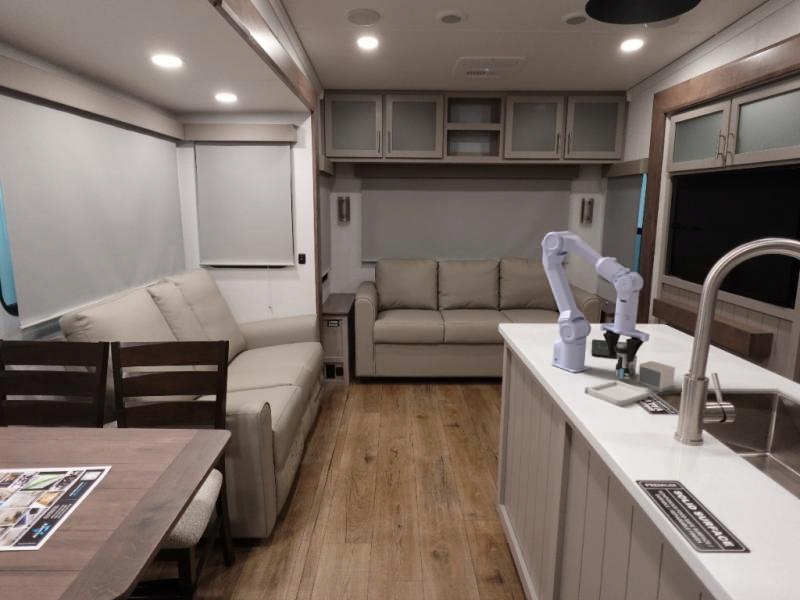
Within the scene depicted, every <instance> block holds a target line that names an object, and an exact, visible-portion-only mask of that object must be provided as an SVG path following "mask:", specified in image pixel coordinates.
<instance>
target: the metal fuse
mask: <svg viewBox="0 0 800 600" xmlns="http://www.w3.org/2000/svg"><path fill="white" fill-rule="evenodd" d="M637 361H638V355H637V354H636V355H635V358H634V361H633V362H627V364H628V369H629V376H628V378H629V377H631V378H633V377H635V376H636V373H637V372H636V370H637Z"/></svg>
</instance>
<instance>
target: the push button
mask: <svg viewBox="0 0 800 600" xmlns="http://www.w3.org/2000/svg"><path fill="white" fill-rule="evenodd" d="M614 351H615V352H617V357H618V360H617V363H616V365H615V368H614V369H615V371H614V373H615V376H617V377H619V378H621V379H626V380H627V379H628V380H629V377H628V376H629V369H628V364H627V342H626V341H625V342H624V341H618V342H617V345H614Z"/></svg>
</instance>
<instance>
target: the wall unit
mask: <svg viewBox="0 0 800 600" xmlns="http://www.w3.org/2000/svg"><path fill="white" fill-rule="evenodd" d="M675 370H676V367H674V366H671V365H667V364H664V363H660V362H657V361H653V360H651V361H646V362H643V363H639V365H638V374H637V375H638V376H637V380H635V381H634V382H635V383H634V384H636V385H639V386H642V387H644V388H648V389H651V390H653V391H657V392H660V393H663V392H667V391H670V390H673V389H675V388H676V385H674V379H675V372H676V371H675Z"/></svg>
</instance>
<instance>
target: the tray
mask: <svg viewBox="0 0 800 600" xmlns="http://www.w3.org/2000/svg"><path fill="white" fill-rule="evenodd" d="M584 394H587V395H590V396H591V397H594V398H596V399H599V400H602V401H603V402H606V403H610V404H612V405H615V406H617V407H623V406H626V405H630V404H633V403H637V402H639V401H642V400H645V399H648V398H647V397H649V396H650V397H651V391H649V390H646V389H643V388H640V387H637V386H634V385H632V384H628V383H626V382H623V381H620V380H617V379H612V380H609V381H605V382H601V383H598V384H594V385H590V386H586V387H584ZM650 397H649V398H650ZM644 398H645V399H644Z"/></svg>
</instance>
